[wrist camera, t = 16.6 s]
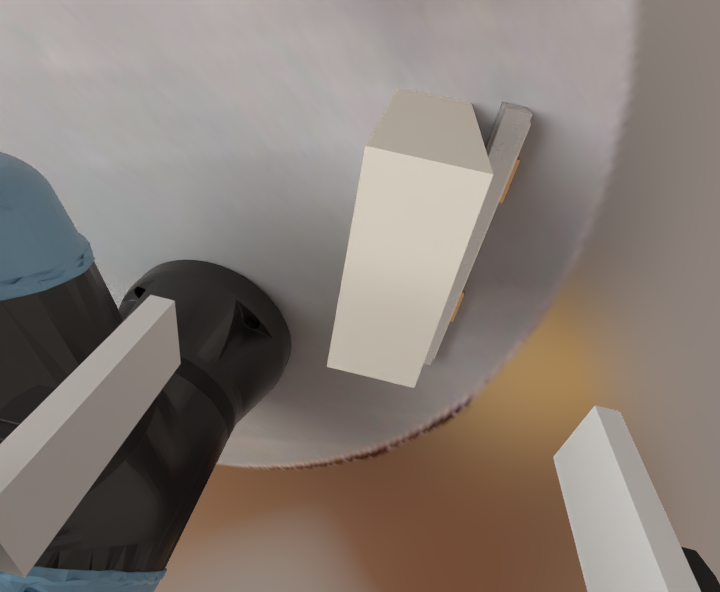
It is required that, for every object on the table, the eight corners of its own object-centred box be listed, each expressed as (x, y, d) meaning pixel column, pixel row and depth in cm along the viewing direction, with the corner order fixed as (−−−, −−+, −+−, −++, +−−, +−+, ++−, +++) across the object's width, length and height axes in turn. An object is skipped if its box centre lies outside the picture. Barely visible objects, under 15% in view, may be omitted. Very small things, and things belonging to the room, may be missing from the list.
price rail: (435, 352, 36) (435, 366, 35) (413, 346, 36) (412, 361, 35) (535, 109, 24) (540, 116, 23) (502, 102, 24) (506, 108, 23)
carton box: (365, 245, 31) (326, 366, 21) (397, 87, 25) (365, 145, 14) (425, 260, 31) (417, 389, 21) (474, 104, 25) (497, 175, 14)
